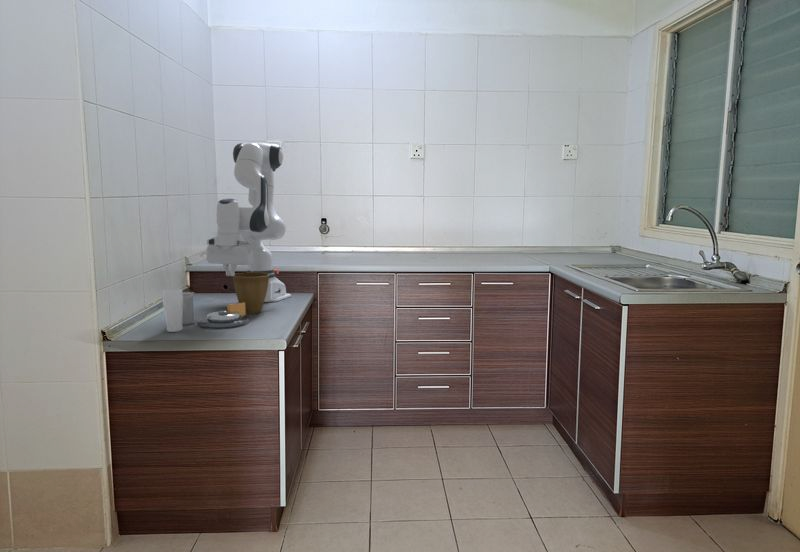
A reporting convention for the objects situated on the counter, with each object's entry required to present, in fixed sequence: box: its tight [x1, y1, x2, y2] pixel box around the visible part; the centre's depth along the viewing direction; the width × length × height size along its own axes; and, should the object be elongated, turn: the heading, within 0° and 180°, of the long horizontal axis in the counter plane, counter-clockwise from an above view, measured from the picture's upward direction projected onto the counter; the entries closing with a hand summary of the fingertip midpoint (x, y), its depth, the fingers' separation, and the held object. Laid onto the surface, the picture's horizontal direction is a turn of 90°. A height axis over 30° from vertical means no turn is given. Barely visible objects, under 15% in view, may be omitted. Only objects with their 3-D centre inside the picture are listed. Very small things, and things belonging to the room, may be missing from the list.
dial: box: [206, 301, 247, 323], centre depth 225 cm, size 16×12×5 cm
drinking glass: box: [162, 288, 184, 333], centre depth 211 cm, size 7×7×15 cm
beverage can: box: [182, 291, 195, 326], centre depth 223 cm, size 6×6×12 cm
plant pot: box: [232, 272, 269, 315], centre depth 244 cm, size 15×15×16 cm
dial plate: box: [197, 315, 250, 330], centre depth 225 cm, size 19×19×2 cm
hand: (230, 275), depth 230 cm, fingers closed
